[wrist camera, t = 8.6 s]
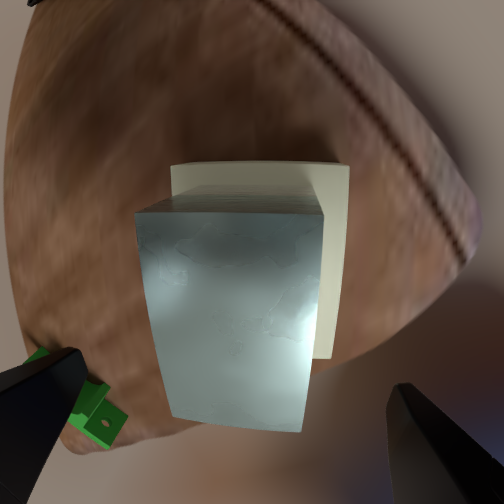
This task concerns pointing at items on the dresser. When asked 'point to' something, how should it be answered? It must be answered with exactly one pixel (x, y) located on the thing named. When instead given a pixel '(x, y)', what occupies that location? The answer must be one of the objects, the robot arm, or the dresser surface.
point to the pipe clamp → (93, 411)
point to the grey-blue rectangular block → (234, 300)
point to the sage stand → (331, 201)
